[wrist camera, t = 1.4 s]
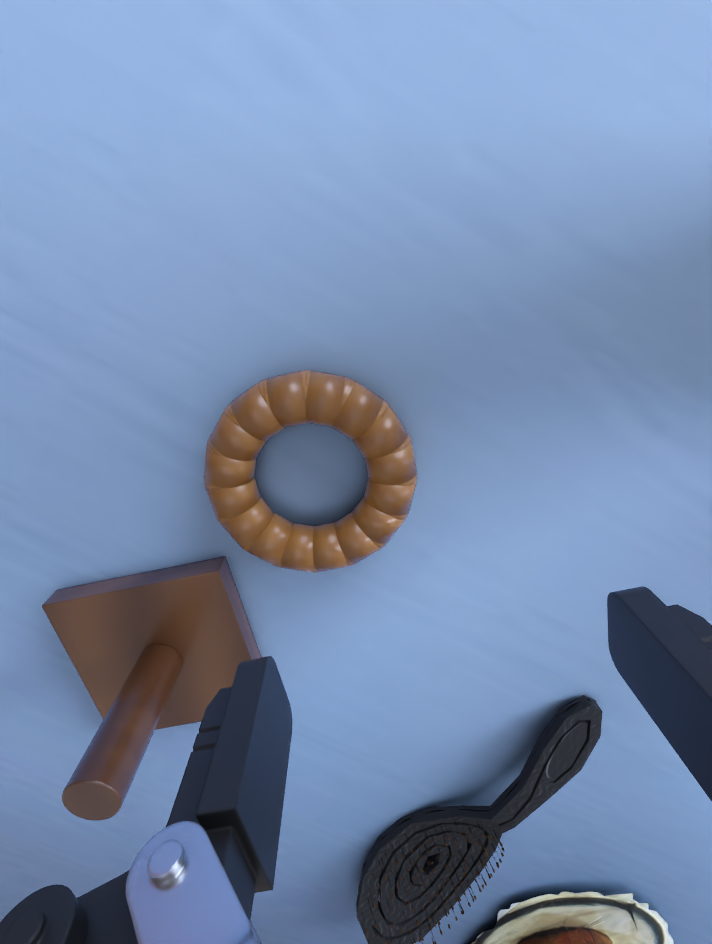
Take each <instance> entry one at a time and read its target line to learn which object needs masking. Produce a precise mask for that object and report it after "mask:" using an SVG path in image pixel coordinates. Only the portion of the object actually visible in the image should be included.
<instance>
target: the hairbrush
mask: <svg viewBox="0 0 712 944" xmlns="http://www.w3.org/2000/svg"><path fill="white" fill-rule="evenodd" d="M601 720H602V710H601V709H600V707H599V706H598V705H597V703H596V701H595V700H593V699H591V698H588V697H586V696H582V697H580V698H578V699H577V700H575V701H573V702H571V703H570V704H568V705H566V706H565V707H563V708H561V709H560V710H559V711H558V713H557V714H556V715H555V717H554V718H553V720H552V721H551V722H550V724H549V725H548V727H547V728H546V729H545V731H544V732H543V734H542V735H541V736H540V738H539V739H538V741H537V743H536V745H535V747H534V749H533V750H532V752H531V754H530V756H529V758H528V760H527V762H526V764H525V766H524V767H523V769H522V771H521V773H520V775H519V776H518V777H517V778H516V779H515V781H514V782H513V783H512V784H511V785H510V786H509V787H508V788H507V789H506V790H505V791H504V792H503V793H502V794H501V795H500V796H499V797H498V798H497V799H496V801H495V802H494V803H493V804H492V805H491V806H465V805H461V806H446V807H430V808H426V809H424V810H421V811H419V812H416V813H414V814H411V815H409V816H406V817H404V818H401V819H399V820H398V821H397V822H396V823H395V824H394V825H393V826H392V827H390V828H389V829H388V830H387V831H386V832H385V833H384V834H382V835H381V836H380V837H379V839H378V840H377V842H376V844H375V846H374V847H373V849H372V851H371V853H370V854H369V856H368V858H367V859H366V861H365V863H364V865H363V870H362V875H361V881H360V884H359V889H358V897H357V902H356V907H357V918H358V921H359V923H360V925H361V928H362V930H363V932H364V935H365V937H366V939H367V942H368V944H414V943H416V942H418V941H419V942H420V940H421V939H422V940H424V939H423V937H424V936H425V935H426V934H427V933H428V932H429V931H430V930H431V931H432V928H433V927H434V926H435V928H436V924H437V923H438V926H439V925H440V922H439V921H440V920H441V918H442V917H443V916H444V915H446V916H447V912H448V914H449V910H450V909H451V908H452V910H453V909H454V908H453V906H454V904H455V903H456V902H457V901H458V902H459V904H460V901H461V899H460V897H461V896H462V894H464V895H465V891H466V889H467V888H468V887H469V888H470V887H471V886H470V884H471V883H472V882H473V881H474V880H475V882H477V881H476V879H475V878H476V877H477V876H478V875H479V874H480V872H481V871H482V869H483V868H485V869H486V867H484V866H487V864H486V863H487V862H488V860H489V859H490V857H491V856H493V855H492V854H493V853H494V851H495V850H496V848H497V846H498V843H500V845H501V847H502V843H501V842H500V841H499V840H500V838H501V835H502V833H504V832H506V831H508V830H510V829H512V828H514V827H516V826H517V825H518V824H519V823H520V822H522V821H523V820H524V819H525V818H526V817H528V816H529V815H530V814H531V813H532V812H534V811H535V810H536V809H537V808H538V807H540V806H541V805H542V804H543V803H544V802H546V801H547V800H548V799H549V798H550V797H551V796H552V795H554V794H555V793H556V792H557V791H558V790H559V789H560V788H561V787H563V786H564V785H565V784H566V783H567V782H568V781H569V780H570V779H571V778H573V777H574V776H575V775H576V774H577V773H578V772H579V771H580V770H581V769H582V767H583V766H584V764H585V762H586V760H587V759H588V757H589V755H590V753H591V752H592V750H593V748H594V746H595V745H596V743H597V741H598V739H599V738H600V734H601ZM483 829H484V830H483ZM484 831H485V832H484ZM448 845H449V848H448ZM498 848H499V847H498ZM502 850H503V851H504V848H502ZM431 855H434V856H432V857H431V858H430V859H429V858H428V861H427V862H426V859H427V857H430V856H431ZM501 855H502V857H503V856H504V855H503V853H501ZM493 858H495V857H493ZM494 860H496V859H494ZM499 860H500V862H501V859H499ZM425 862H426V863H425ZM495 862H496V864H497V867H498V868H499V864H498V862H497V861H495ZM489 863H490V862H489ZM490 865H491V864H490ZM491 867H492V866H491ZM487 868H488V867H487ZM492 869H493V867H492ZM488 870H489V869H488ZM409 871H411V873H410V872H409ZM486 871H487V869H486ZM489 872H490V871H489ZM493 872H494V873H495V870H494V869H493ZM487 873H488V871H487ZM488 875H489V873H488ZM490 875H491V876H490ZM490 875H489V878H491V877H492V874H490ZM379 876H380V878H379ZM395 876H396V881H395ZM479 876H480V875H479ZM479 876H478V877H479ZM481 876H482V875H481ZM482 878H483V877H482ZM483 880H484V879H483ZM395 882H396V883H397V884H396V886H395ZM484 883H485V885H486V886H487V884H486V882H485V881H484ZM477 884H478V883H477ZM378 887H379V890H378ZM396 887H397V888H396ZM478 887H479V885H478ZM482 887H483V889H484V885H482ZM469 888H468V889H469ZM471 890H472V889H471ZM479 890H480V892H481V889H480V887H479ZM379 892H380V902H379V900H378V893H379ZM469 892H470V890H469ZM472 892H473V891H472ZM470 894H471V893H470ZM473 894H474V893H473ZM465 896H466V895H465ZM471 896H472V895H471ZM474 898H475V899H476V896H475V895H474ZM472 899H473V897H472ZM473 902H474V899H473ZM468 904H469V906H471V905H470V903H469V902H468ZM460 906H461V905H460ZM460 906H459V907H460ZM461 909H462V907H461ZM453 912H454V911H453ZM461 914H462V915H463V914H464V911H463V909H462V911H461ZM447 917H448V916H447ZM455 917H456V916H455ZM456 921H457V917H456ZM448 927H449V929H450V925H449V924H448ZM439 928H440V927H439ZM431 933H432V932H431ZM440 933H441V935H442V931H441V929H440ZM432 935H433V934H432ZM433 938H434V937H433ZM422 940H421V941H422ZM432 940H433V939H432ZM422 944H423V943H422ZM433 944H436V941H435V943H434V942H433Z"/></svg>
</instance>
